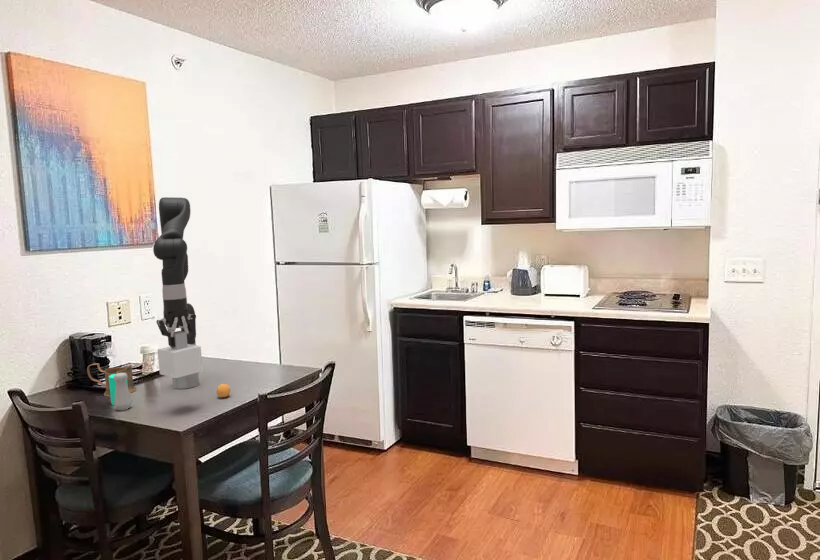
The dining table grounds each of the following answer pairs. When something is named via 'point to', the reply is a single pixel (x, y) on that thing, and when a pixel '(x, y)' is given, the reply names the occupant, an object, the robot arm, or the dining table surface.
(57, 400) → the dining table surface
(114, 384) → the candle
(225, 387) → the ball
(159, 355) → the white block with knob
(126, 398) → the salt shaker
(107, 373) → the mug
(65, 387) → the dining table surface
